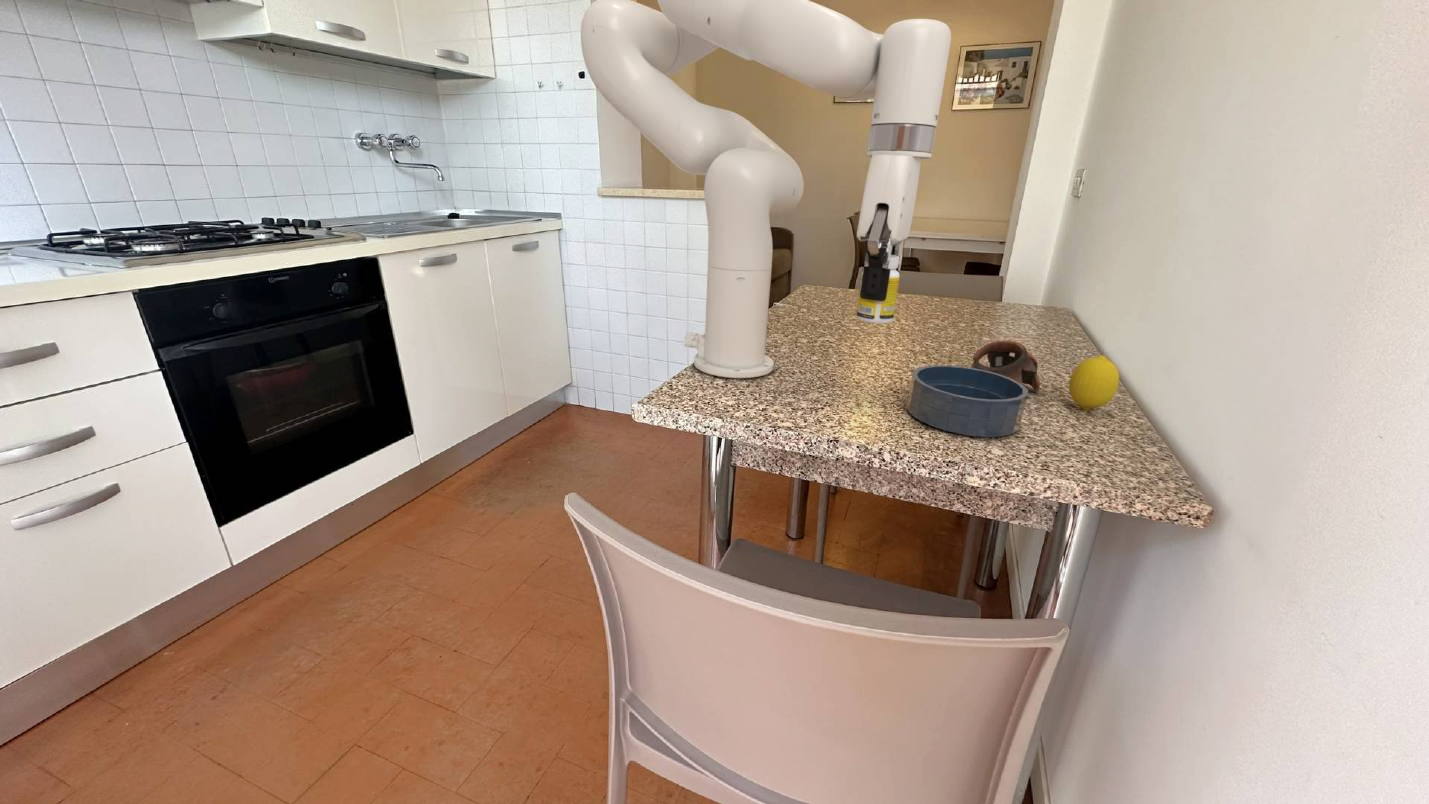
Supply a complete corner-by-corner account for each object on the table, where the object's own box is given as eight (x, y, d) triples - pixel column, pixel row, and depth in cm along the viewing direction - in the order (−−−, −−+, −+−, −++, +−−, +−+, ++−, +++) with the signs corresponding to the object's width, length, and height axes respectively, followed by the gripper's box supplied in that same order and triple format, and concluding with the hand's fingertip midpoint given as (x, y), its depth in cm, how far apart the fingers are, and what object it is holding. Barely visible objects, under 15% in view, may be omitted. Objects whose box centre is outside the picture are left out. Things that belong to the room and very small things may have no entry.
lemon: (1082, 402, 83) (1098, 348, 80) (1118, 416, 78) (1136, 360, 75) (1053, 404, 81) (1068, 350, 78) (1087, 420, 76) (1105, 362, 73)
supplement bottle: (890, 317, 78) (901, 254, 75) (894, 325, 73) (905, 259, 70) (854, 314, 79) (863, 252, 75) (856, 322, 74) (865, 256, 71)
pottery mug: (1053, 404, 82) (1045, 359, 78) (984, 423, 85) (973, 381, 81) (1024, 360, 92) (1015, 318, 88) (963, 379, 95) (952, 339, 91)
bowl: (897, 423, 72) (904, 386, 70) (915, 392, 83) (921, 359, 81) (1017, 449, 66) (1027, 409, 64) (1019, 412, 78) (1028, 377, 76)
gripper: (883, 148, 77) (864, 284, 83) (850, 138, 63) (830, 302, 69) (942, 149, 74) (917, 290, 80) (921, 139, 60) (893, 311, 66)
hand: (877, 294), depth 75 cm, fingers closed on supplement bottle, 4 cm apart
